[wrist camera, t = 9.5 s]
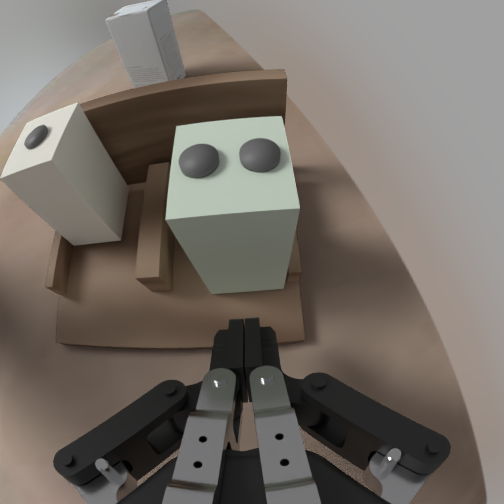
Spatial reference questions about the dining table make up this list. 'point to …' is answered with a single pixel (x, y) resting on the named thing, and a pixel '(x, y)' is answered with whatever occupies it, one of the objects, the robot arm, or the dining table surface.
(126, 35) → the skincare box
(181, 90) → the wooden divided rack
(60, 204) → the white dotted block
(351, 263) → the dining table surface
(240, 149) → the pale green dotted block
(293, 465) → the robot arm
